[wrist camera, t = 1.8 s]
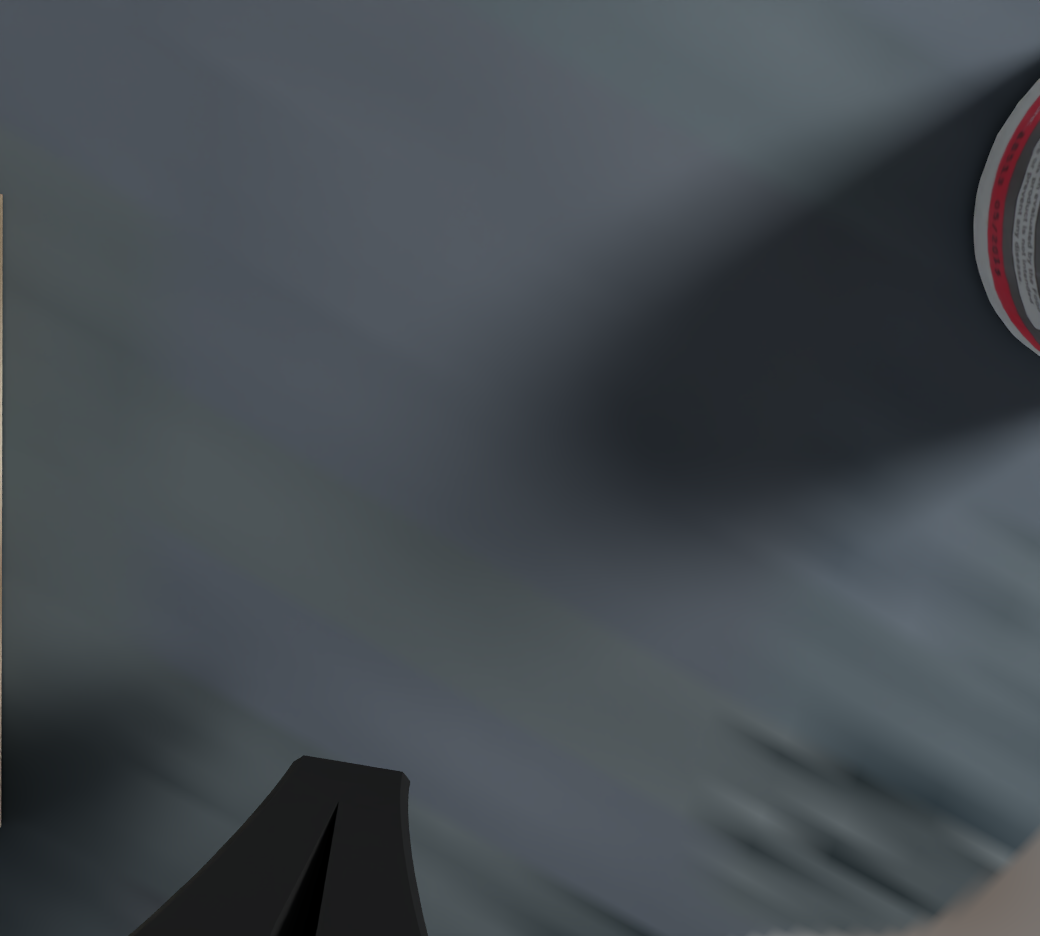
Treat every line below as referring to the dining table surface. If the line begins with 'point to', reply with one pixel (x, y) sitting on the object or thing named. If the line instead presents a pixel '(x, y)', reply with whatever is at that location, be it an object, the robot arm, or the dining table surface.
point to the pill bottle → (1012, 222)
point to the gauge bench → (0, 471)
